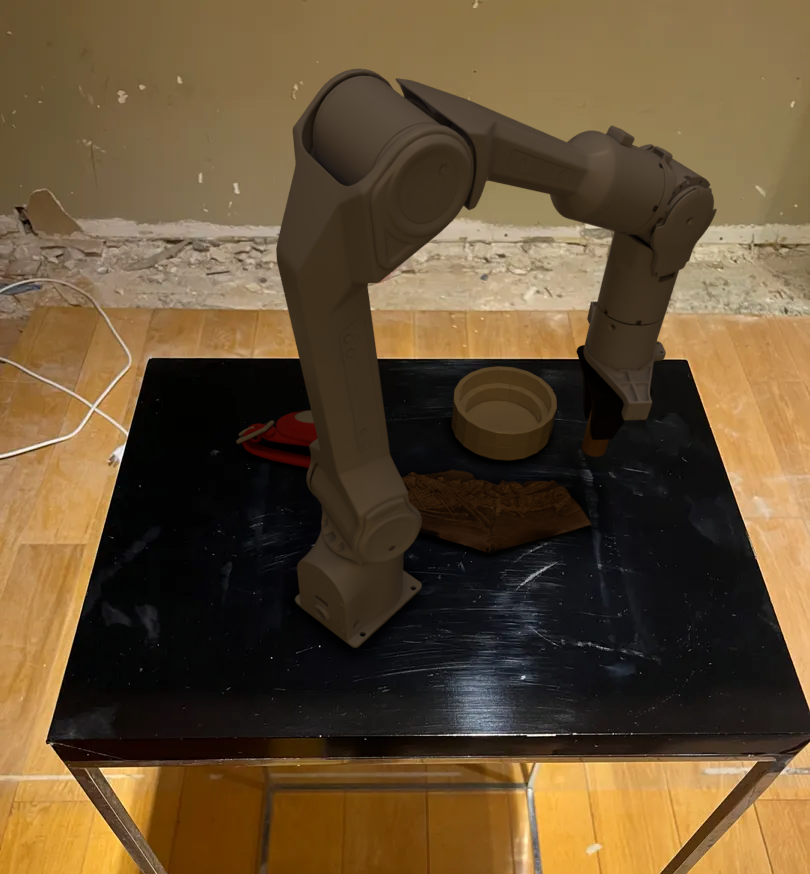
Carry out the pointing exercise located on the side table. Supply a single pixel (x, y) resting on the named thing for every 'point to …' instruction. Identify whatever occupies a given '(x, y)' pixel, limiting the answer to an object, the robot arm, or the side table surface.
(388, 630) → the side table surface
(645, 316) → the robot arm
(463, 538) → the wooden fragment
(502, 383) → the bowl
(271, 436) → the tracker holder
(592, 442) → the stick
